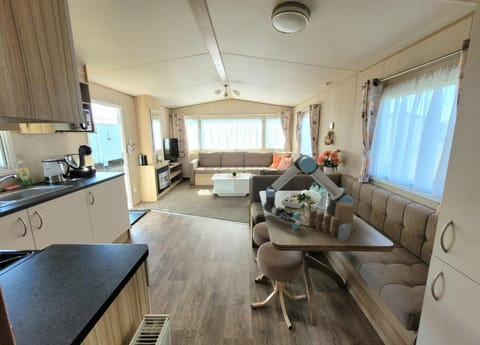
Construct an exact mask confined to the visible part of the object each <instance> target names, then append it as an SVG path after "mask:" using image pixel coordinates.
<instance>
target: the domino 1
mask: <svg viewBox="0 0 480 345" xmlns="http://www.w3.org/2000/svg"><path fill="white" fill-rule="evenodd" d="M293 213H294V214H293V218H294V219H296V220H298V221H300V217H302V216H301V215H302V214H301V213H302V212H301V211H297V212H293ZM300 222H301V221H300ZM300 227H301V224H300V225H298V224H296V223H293V222H292V230H293V231H296V230H298V229H300Z"/></svg>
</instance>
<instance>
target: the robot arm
mask: <svg viewBox="0 0 480 345" xmlns="http://www.w3.org/2000/svg"><path fill="white" fill-rule="evenodd" d="M301 171H302V172H303V173H305V174H306V175H307V177H310V176H311V178H312V179H314V181H316V183H317V184H318V185H319V186H320V187H322V189H324V191H325V192H326V193H328V194H329V202H328V205H327V207H326V211H325V213H327V214H328V215H332V217H333V216H334V217H335V209H336V202H348V203H351V204H352V205H353V206H354V201H355V200H354V198H353V197H352V196H351V195H350V194H349V193H347V190H346V189H345V188H344V187H339V186H337V185H336V184H335V183H334V182H333V181H332V180H331V178H329V176H327V174H325V172H324V171H323V170H322V169H320V165H319V163H317V162H316V160H315V159H314V158H313V157H312V156H309V155H307V154H303V155H300V156H299V157H298V158H296V159H295V160H294V161H293V162H292V165H291V166H290V167H289V168H288V169H287V170H286V171H285V172H283V174H282V175H281V176H280V177H278V178H277V179H276V180H275V181H274V182H273V183H272V184H271V185H270V186H268V187H267V188H266V189H265V202H263V205H262V210H264V211H265V212H266V213H270V214H271V215H273V216H276V217H277V218H278V219H281V220H283V221H285V222H287V223H292V224H293V223H296V224H298V225H300V226H301V222H302V223H307V222H306V220H307V219H306V218H305V217H302V216H301V217H300V221H298V220H296V219H294V218H293V214H294V213H295V212H293V211H291V210H289V212H288V211H286V209H285V208H283V207H280V206H278V205H276V194H277V193H278V191H279V190H280V189H282V188H283V187H284V186H285V185H286V184H287V183H288V182H289V181H290V180H292V179H293V178H294V177H295V176H296V175H297V174H298V173H300V172H301Z"/></svg>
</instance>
